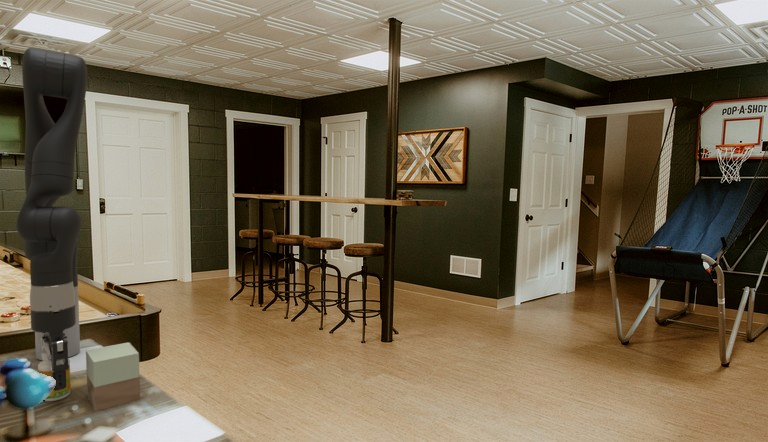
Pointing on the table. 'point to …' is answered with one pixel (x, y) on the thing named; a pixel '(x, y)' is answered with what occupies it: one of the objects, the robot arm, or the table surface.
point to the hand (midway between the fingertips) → (56, 382)
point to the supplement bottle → (45, 369)
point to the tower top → (112, 364)
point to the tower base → (113, 393)
